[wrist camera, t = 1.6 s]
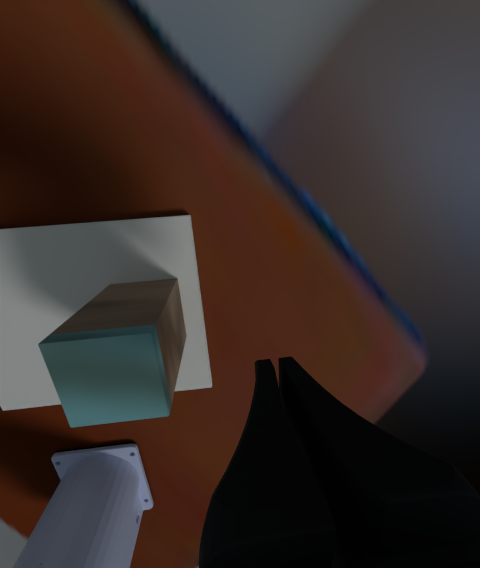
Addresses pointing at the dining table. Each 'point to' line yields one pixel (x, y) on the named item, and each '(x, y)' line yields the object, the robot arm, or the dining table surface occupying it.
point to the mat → (88, 292)
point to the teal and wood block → (119, 354)
